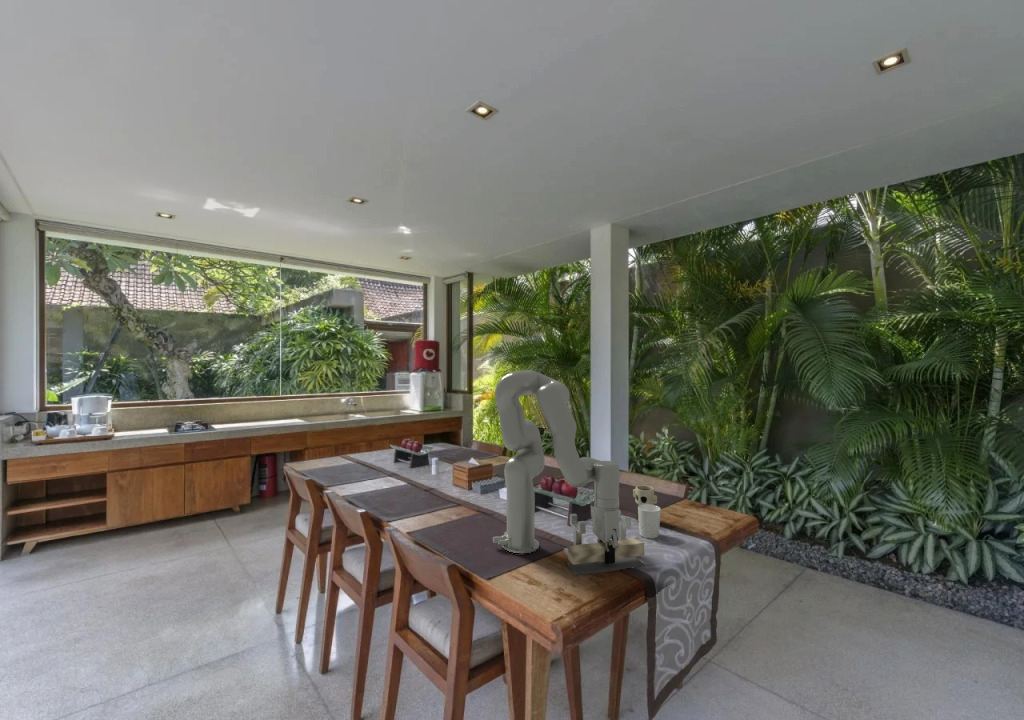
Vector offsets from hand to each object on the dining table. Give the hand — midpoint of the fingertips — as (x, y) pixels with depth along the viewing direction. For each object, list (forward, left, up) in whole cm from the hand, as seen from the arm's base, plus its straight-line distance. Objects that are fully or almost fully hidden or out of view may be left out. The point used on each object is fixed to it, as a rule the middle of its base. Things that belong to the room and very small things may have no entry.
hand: (606, 559), depth 146 cm
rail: (0, 0, +1) cm, 1 cm away
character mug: (+32, +31, -2) cm, 45 cm away
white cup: (+26, +18, -2) cm, 32 cm away
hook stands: (+2, +9, -2) cm, 9 cm away
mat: (0, 0, -2) cm, 2 cm away
